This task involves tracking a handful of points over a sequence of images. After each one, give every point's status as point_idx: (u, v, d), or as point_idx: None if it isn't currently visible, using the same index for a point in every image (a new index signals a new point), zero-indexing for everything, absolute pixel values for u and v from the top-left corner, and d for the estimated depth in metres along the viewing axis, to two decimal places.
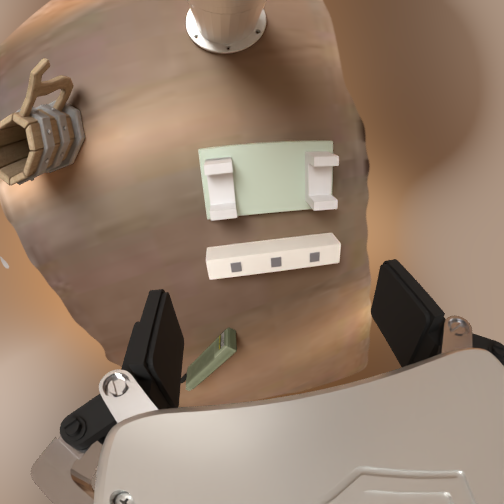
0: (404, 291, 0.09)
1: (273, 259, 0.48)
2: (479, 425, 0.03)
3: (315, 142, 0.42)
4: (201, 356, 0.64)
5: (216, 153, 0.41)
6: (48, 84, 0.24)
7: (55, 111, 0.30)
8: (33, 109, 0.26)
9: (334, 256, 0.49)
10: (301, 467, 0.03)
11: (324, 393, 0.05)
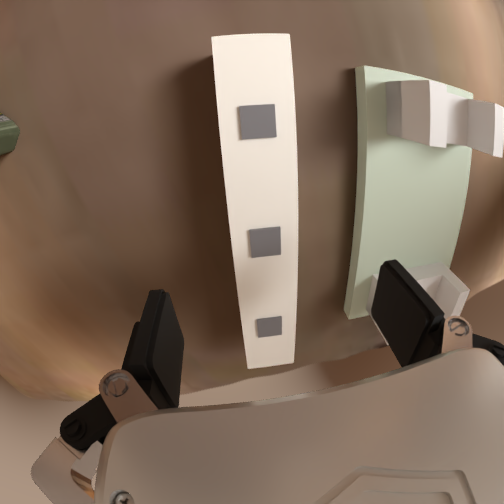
0: (404, 291, 0.09)
1: (276, 233, 0.16)
2: (479, 425, 0.03)
3: None
4: None
5: None
6: None
7: None
8: None
9: (264, 360, 0.22)
10: (301, 467, 0.03)
11: (324, 393, 0.05)
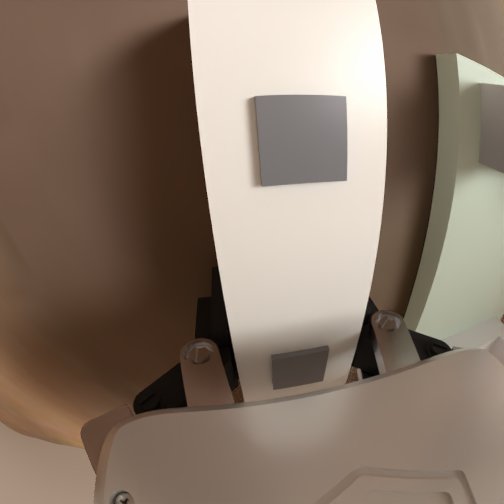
0: None
1: (320, 358, 0.08)
2: (479, 425, 0.03)
3: None
4: None
5: None
6: None
7: None
8: None
9: None
10: (301, 467, 0.03)
11: (324, 393, 0.05)
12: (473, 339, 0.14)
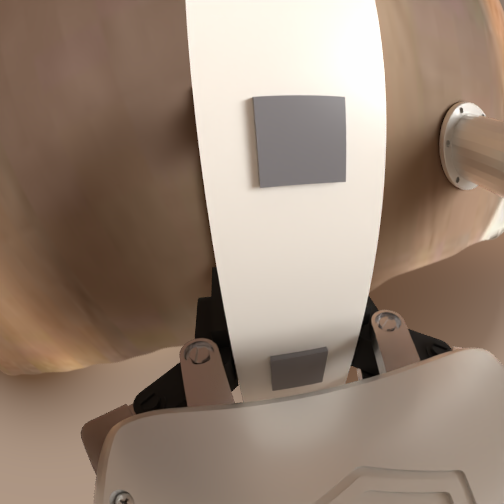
0: None
1: (319, 359, 0.08)
2: (479, 425, 0.03)
3: None
4: None
5: None
6: None
7: None
8: None
9: None
10: (301, 467, 0.03)
11: (324, 393, 0.05)
12: None
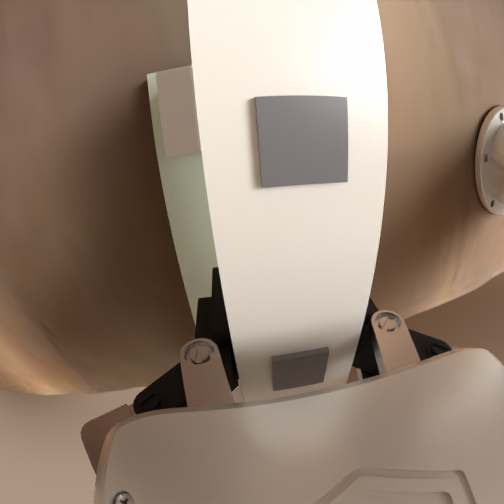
0: None
1: (320, 359, 0.08)
2: (479, 425, 0.03)
3: None
4: None
5: None
6: None
7: None
8: None
9: None
10: (301, 467, 0.03)
11: (324, 393, 0.05)
12: None
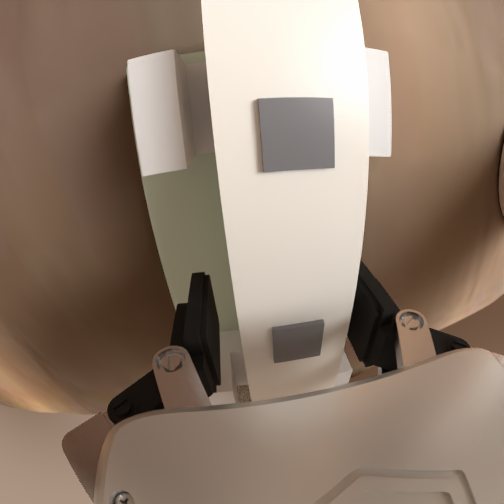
0: (358, 284, 0.10)
1: (316, 331, 0.09)
2: (479, 425, 0.03)
3: None
4: None
5: None
6: None
7: None
8: None
9: None
10: (301, 467, 0.03)
11: (324, 393, 0.05)
12: None
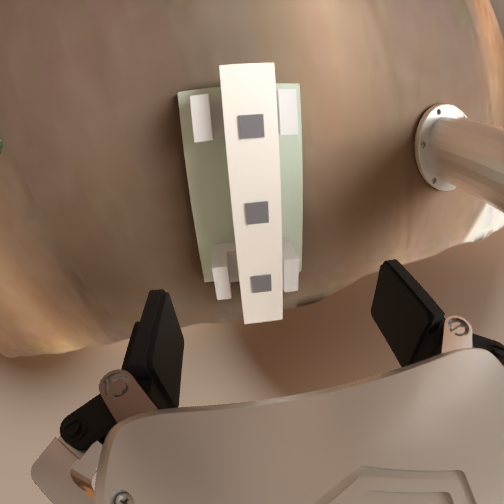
0: (404, 291, 0.09)
1: (265, 206, 0.22)
2: (479, 425, 0.03)
3: (300, 249, 0.33)
4: None
5: None
6: None
7: None
8: None
9: (258, 315, 0.28)
10: (301, 467, 0.03)
11: (324, 393, 0.05)
12: None
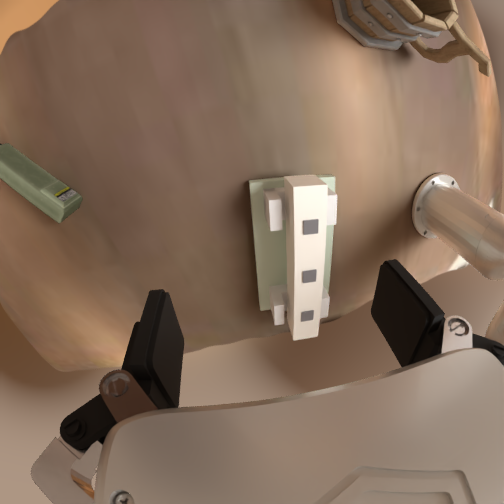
0: (404, 291, 0.09)
1: (314, 272, 0.35)
2: (479, 425, 0.03)
3: (328, 286, 0.46)
4: (30, 162, 0.30)
5: None
6: (459, 55, 0.20)
7: None
8: None
9: (302, 334, 0.41)
10: (301, 467, 0.03)
11: (324, 393, 0.05)
12: None
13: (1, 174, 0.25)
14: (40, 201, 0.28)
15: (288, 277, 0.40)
